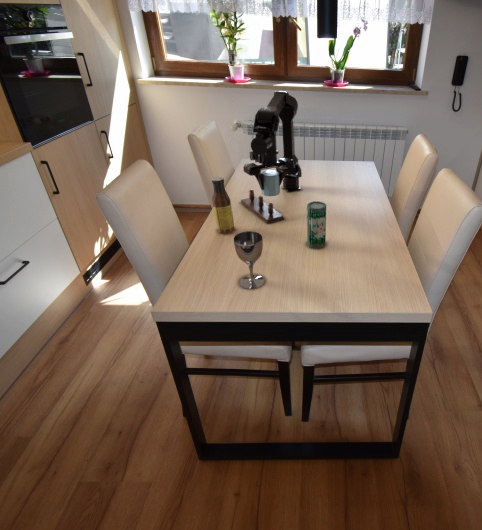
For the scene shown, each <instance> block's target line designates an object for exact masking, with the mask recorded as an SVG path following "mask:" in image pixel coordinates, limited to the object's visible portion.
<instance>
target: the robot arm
mask: <svg viewBox="0 0 482 530" xmlns="http://www.w3.org/2000/svg"><path fill="white" fill-rule="evenodd" d="M298 109H299V104H298V100H297V99H296V97H294V96H292V95H290V94H289V92H287V91H285V90H284V91H283V90H276V91H274V92H273V96H272V98H271V99H270V100H269V102H268V103H267V104H266V106H264V107H261V108H259V109H258V110H257V112H256V113H255V115H254V122H253V127H252V133H255V137H254V138H253V139H252V140H251V141H250V149H251V151H249V158H250V161H254V162H255V163H254V162H249V163H245V164H244V165H243V168H242V169H243V172H244V173H245V174H247V175H248V176H251V177H255V179H256V181H257V183H258V185H259V188H260V191H261V190H263V189H264V174H262V173H261V172H262V171H265V170H272V169H275V171H278V172H279V181H280V186H281V184H282V186H281V188H282V189H283V190H285V191H287V192H288V193H291V192H294V191H299V190H301V189H302V188H301V187H300V181H299V180H300V178H302V176H303V175H302V174H303V171H302V168H301V166H300V164H299V159H298V157H297V155H296V154H295V136H294V120H295V118H296V115H297V113H298ZM280 121H281V127H282V129H281V131H282V146H283V156H282V157H280V158H278V155H279V150H277V149H278V148H277V132H278V131H279V126H280ZM256 163H258V164H256Z"/></svg>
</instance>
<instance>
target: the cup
mask: <svg viewBox="0 0 482 530" xmlns="http://www.w3.org/2000/svg"><path fill="white" fill-rule="evenodd" d="M261 173H262V174H264V189H263V190H261V189H260V191H261V195H262V196H265V197H276V196H279V195H280V194H281V185H280V181H279V172H278V171H277V170H276V169H265V170H261Z"/></svg>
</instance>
